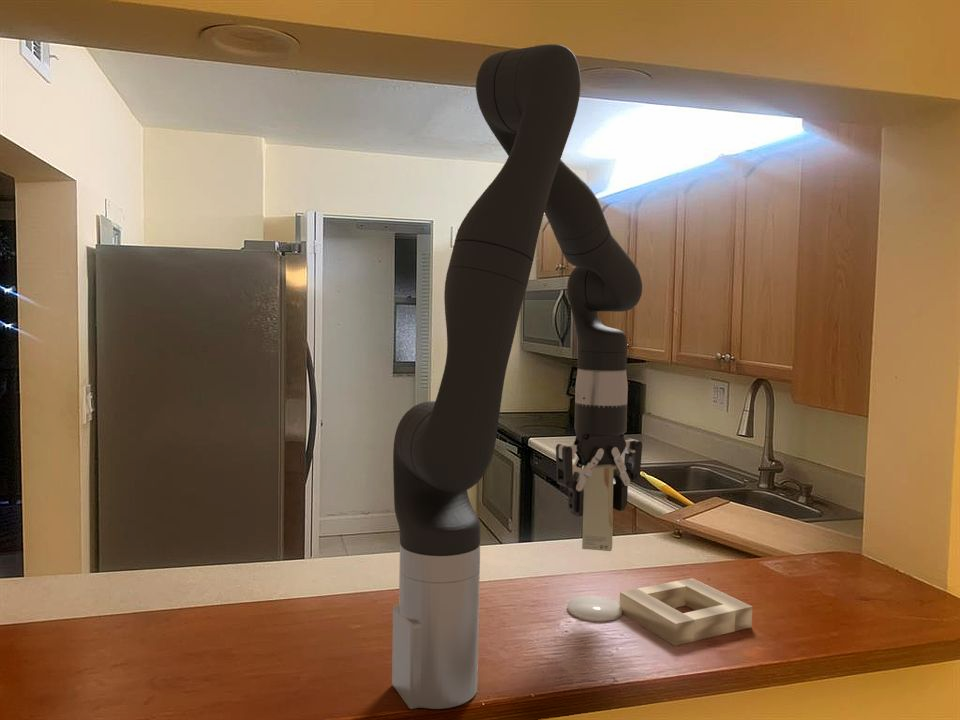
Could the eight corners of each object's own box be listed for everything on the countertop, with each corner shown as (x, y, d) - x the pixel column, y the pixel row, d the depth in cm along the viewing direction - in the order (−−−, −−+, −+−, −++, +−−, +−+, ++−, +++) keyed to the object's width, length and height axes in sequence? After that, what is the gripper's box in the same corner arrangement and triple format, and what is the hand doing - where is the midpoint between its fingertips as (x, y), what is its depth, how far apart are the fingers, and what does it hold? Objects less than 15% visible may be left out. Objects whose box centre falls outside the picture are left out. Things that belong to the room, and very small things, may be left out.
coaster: (588, 625, 101) (588, 621, 101) (557, 604, 108) (557, 600, 108) (633, 615, 104) (633, 611, 104) (600, 596, 111) (600, 592, 111)
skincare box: (612, 552, 102) (613, 468, 101) (581, 550, 103) (582, 466, 102) (612, 538, 108) (614, 459, 107) (583, 536, 109) (585, 457, 108)
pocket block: (675, 645, 95) (675, 623, 95) (619, 611, 106) (619, 591, 105) (751, 627, 101) (752, 606, 101) (691, 596, 112) (692, 578, 112)
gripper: (574, 405, 97) (571, 524, 98) (656, 401, 104) (653, 513, 105) (545, 399, 104) (542, 511, 105) (624, 395, 110) (621, 501, 112)
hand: (598, 511), depth 105 cm, fingers closed on skincare box, 7 cm apart
